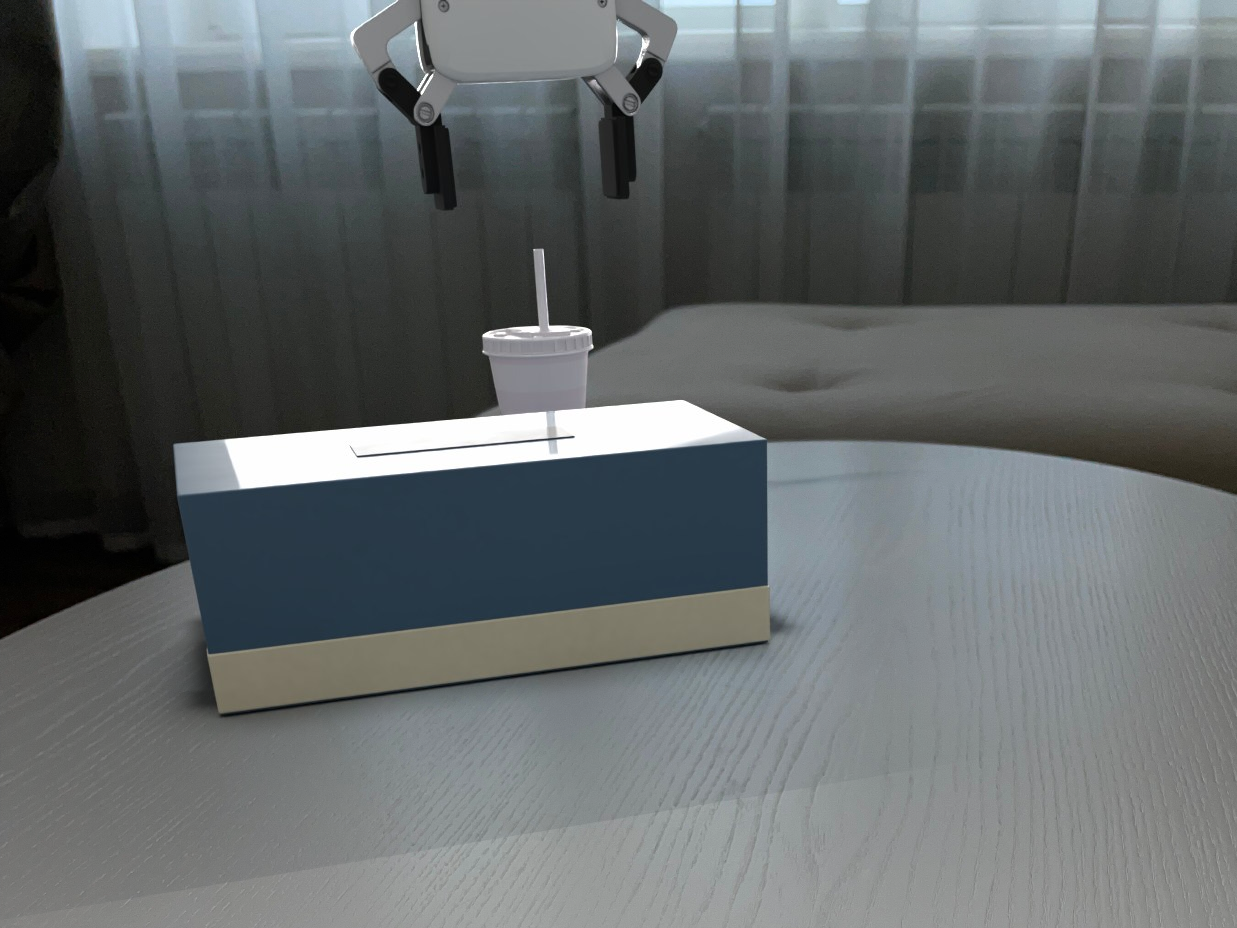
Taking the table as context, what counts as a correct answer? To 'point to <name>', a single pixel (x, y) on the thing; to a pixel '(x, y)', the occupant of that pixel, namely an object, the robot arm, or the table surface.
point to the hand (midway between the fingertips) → (532, 203)
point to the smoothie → (539, 361)
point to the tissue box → (472, 549)
